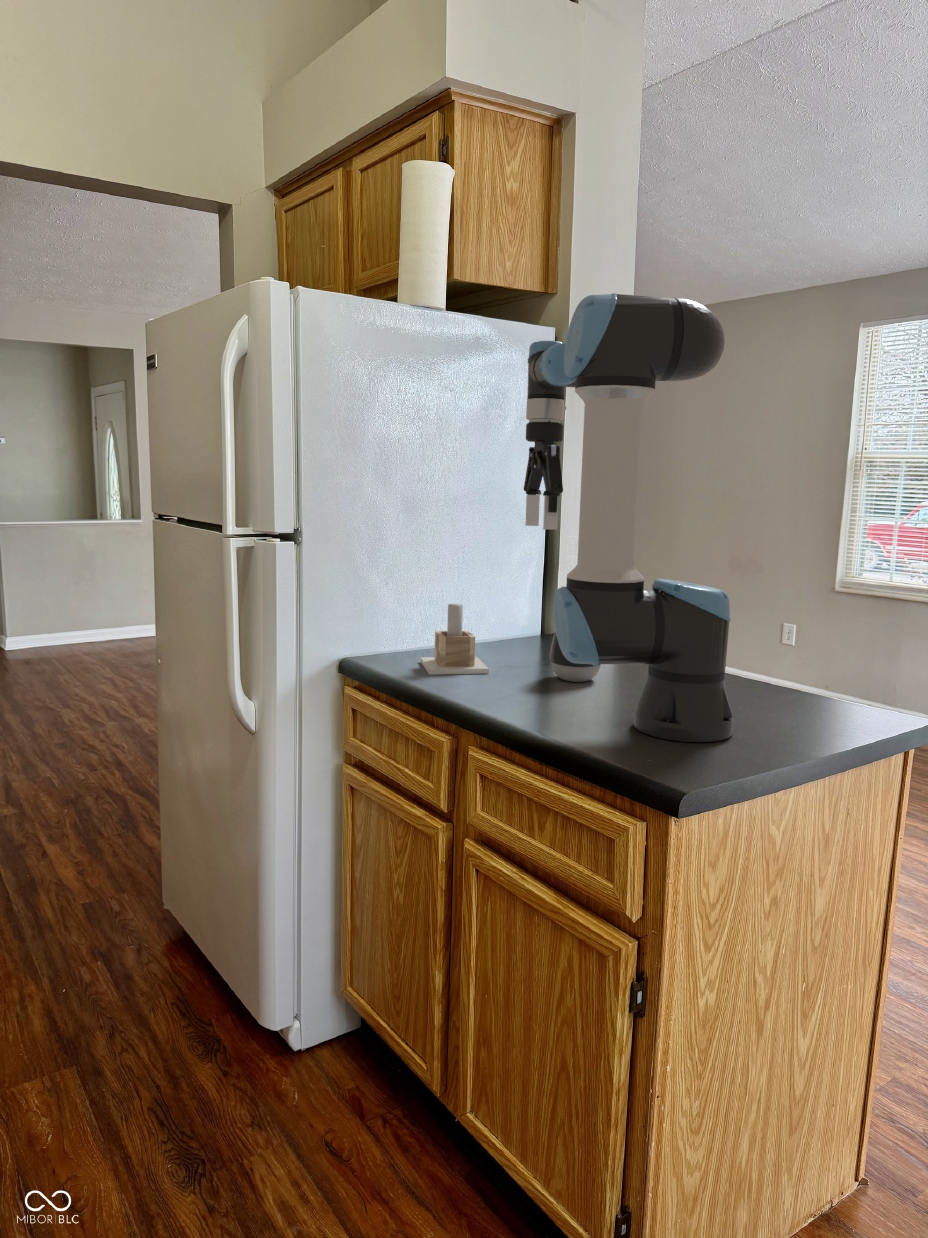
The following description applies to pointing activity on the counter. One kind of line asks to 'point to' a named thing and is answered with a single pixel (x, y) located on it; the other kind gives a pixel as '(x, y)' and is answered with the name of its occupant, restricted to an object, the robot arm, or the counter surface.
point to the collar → (454, 649)
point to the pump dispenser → (570, 666)
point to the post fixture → (454, 630)
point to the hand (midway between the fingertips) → (540, 527)
